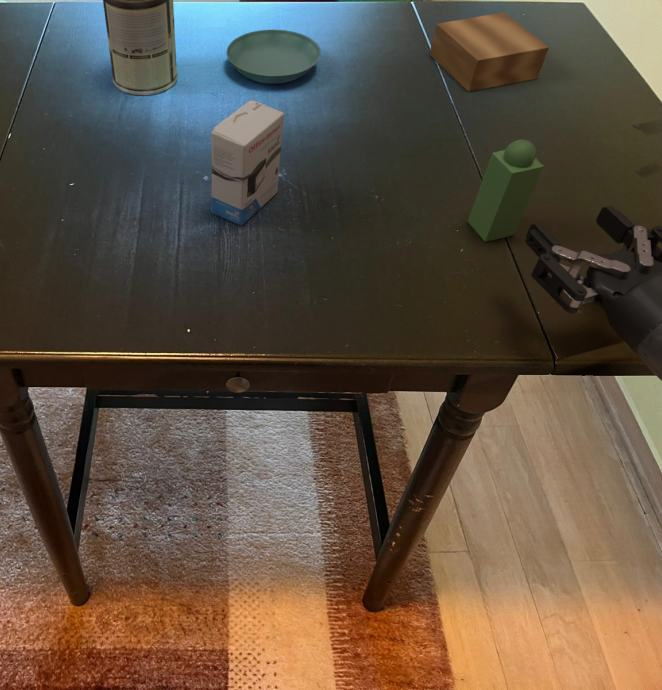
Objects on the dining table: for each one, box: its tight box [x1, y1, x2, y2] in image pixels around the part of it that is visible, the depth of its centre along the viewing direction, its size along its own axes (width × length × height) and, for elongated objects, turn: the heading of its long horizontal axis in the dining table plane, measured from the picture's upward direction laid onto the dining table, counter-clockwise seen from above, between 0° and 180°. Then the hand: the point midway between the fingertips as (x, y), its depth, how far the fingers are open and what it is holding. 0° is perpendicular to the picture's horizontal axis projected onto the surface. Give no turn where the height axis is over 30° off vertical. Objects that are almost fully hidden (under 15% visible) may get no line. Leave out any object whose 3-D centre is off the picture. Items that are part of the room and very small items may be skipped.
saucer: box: [226, 29, 322, 85], centre depth 108 cm, size 15×15×3 cm
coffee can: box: [102, 0, 178, 96], centre depth 102 cm, size 10×10×14 cm
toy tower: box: [467, 139, 545, 243], centre depth 79 cm, size 4×4×12 cm
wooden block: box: [428, 12, 550, 93], centre depth 106 cm, size 12×12×5 cm
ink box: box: [211, 99, 285, 227], centre depth 83 cm, size 8×5×12 cm, turn 143°
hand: (567, 221), depth 71 cm, fingers open, 8 cm apart
